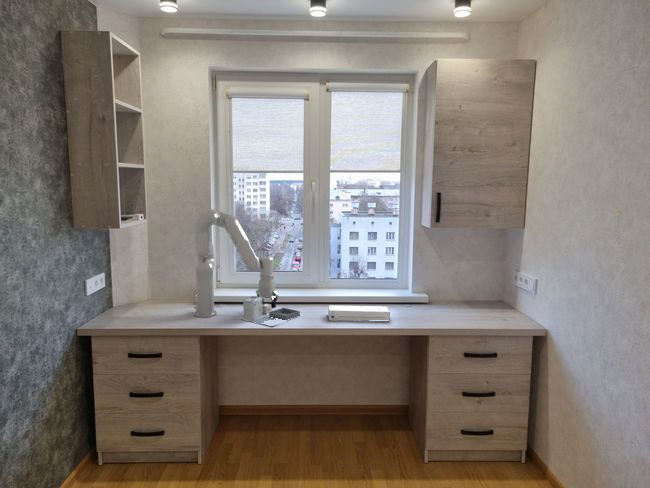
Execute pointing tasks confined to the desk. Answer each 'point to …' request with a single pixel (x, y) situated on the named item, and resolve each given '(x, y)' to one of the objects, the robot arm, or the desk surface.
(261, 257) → the robot arm
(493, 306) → the desk surface
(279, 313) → the dice tray
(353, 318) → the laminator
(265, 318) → the track mat
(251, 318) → the light bulb box
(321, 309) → the desk surface
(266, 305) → the die
